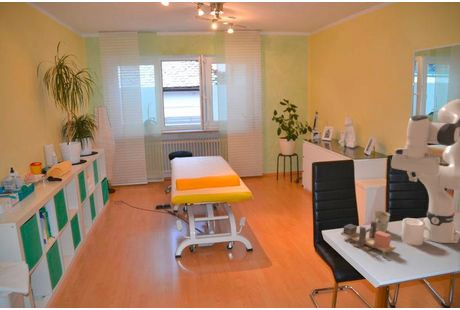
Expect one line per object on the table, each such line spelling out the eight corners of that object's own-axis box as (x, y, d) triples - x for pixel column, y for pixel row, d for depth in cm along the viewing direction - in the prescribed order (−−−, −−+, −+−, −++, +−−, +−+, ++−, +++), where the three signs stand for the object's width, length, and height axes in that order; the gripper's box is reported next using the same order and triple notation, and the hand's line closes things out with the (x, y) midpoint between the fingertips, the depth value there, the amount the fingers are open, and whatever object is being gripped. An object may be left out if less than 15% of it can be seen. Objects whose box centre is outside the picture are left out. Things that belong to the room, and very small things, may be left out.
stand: (353, 245, 179) (354, 225, 177) (366, 238, 187) (367, 218, 185) (384, 257, 167) (386, 236, 164) (397, 249, 175) (399, 228, 172)
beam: (340, 235, 187) (340, 223, 185) (349, 230, 192) (350, 219, 191) (387, 253, 167) (388, 240, 166) (396, 248, 173) (397, 235, 171)
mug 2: (430, 240, 184) (432, 221, 182) (430, 248, 175) (432, 228, 173) (401, 235, 191) (403, 216, 188) (400, 242, 182) (402, 223, 180)
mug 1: (390, 229, 197) (391, 213, 195) (383, 237, 188) (384, 220, 186) (375, 226, 203) (376, 210, 201) (367, 233, 193) (369, 216, 191)
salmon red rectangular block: (374, 244, 174) (375, 232, 173) (378, 241, 177) (379, 230, 175) (385, 248, 170) (386, 237, 168) (389, 245, 172) (390, 234, 171)
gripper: (443, 154, 153) (440, 184, 155) (397, 147, 168) (394, 175, 171) (437, 156, 149) (434, 187, 151) (390, 149, 164) (388, 178, 167)
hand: (413, 181), depth 161 cm, fingers closed
